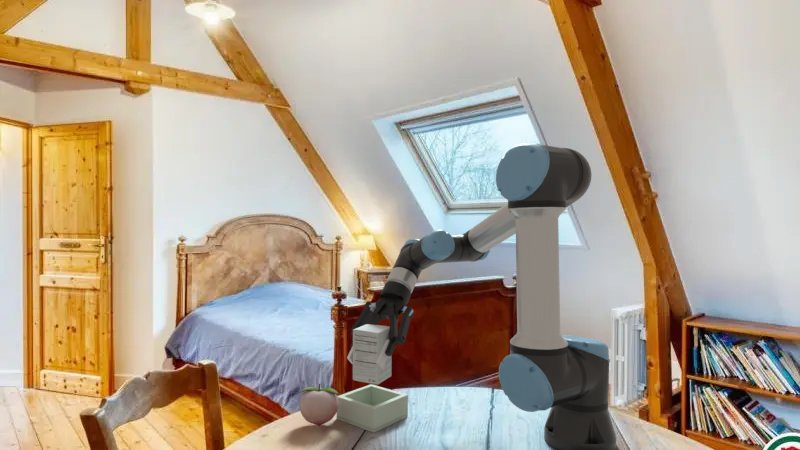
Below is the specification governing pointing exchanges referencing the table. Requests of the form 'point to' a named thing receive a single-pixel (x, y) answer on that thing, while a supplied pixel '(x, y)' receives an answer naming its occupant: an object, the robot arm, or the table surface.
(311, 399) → the decorative fruit
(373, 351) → the supplement box
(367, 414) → the open square container
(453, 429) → the table surface
